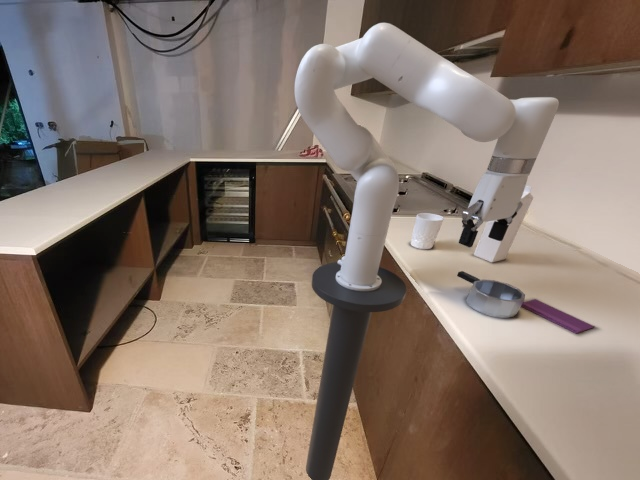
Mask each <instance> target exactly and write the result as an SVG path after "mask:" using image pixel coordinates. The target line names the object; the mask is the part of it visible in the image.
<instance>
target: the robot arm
mask: <svg viewBox="0 0 640 480" xmlns="http://www.w3.org/2000/svg"><path fill="white" fill-rule="evenodd" d="M370 79H374V80H376V81H377V82H379V83H381V84H382V85H384V86H386V88H389V90H391V91H393V92H394V93H396V94H397V95H399V96H400V97H402V98H403V99H405V100H406V101H408V102H409V103H411V104H412V105H415V106H416V107H418V108H420V109H423V110H426V111H428V112H430V113H432V114H434V115H435V116H437V117H439V118H441V119H442V120H444V121H445V122H447V123H449V124H450V125H452V126H453V127H455V128H456V129H458V130H459V131H460V132H461V134H463V135H464V136H466V137H467V138H470V140H471V139H472V140H473V141H476V142H479V143H488V142H493V141H496V143H495V146H494V149H493V152H492V154H491V157H490V159H489V163H488V165H487V168H486V172H484V173H483V174H482V176H481V178H480V179H479V182H478V184H477V185H476V187H475V190H474V192H473V194H472V197H471V199H470V201H469V203H468V206H467V208H466V209H464V210H463V211H462V212H461V223H462V230H461V234H460V237H459V240H458V244H460V245H462V246H464V247H467V248H473V246H474V243H475V241H476V238H477V236H478V234H479V230H478V229H479V228H480V226H482V224H483V223H487V221H493V220H497V221H498V222H497V221H494V223H493V226H492V228H491V231H490V233H489V236H488V237H489V238H492V239H495V240H498V241H502V240H503V238H504V236H505V233H506V231H507V229H508V226H509V225H507V224H511V223H512V219H513V218H514V217H515V216H516V215H517V212H518V211H519V209H520V208H521V207H522V205H523V203H522V202H520V200H521V197H522V194H523V192H524V189H525V186H527V182H528V179H529V176H530V175H531V173H532V170H533V168H534V165H535V163H536V161H537V159H538V156H539V154H540V151H541V149H542V146H543V145H544V142H545V140H546V137H547V135H548V133H549V130H550V128H551V126H552V123H553V121H554V119H555V116H556V114H557V111H558V109H559V105H560V102H559V99H558V98H556V97H552V96H537V97H536V96H535V97H533V96H532V97H521V98H518V99H510V98H509V97H507V96H505V95H503V94H502V93H501V92H500V91H498V90H496V89H494V88H493V87H492V86H490V85H489V84H487V83H485V82H484V81H482V80H480V79H479V78H477V77H476V76H474V75H472V74H471V73H468V72H467V71H466V70H463V69H462V68H460V67H459V66H457V65H456V64H455V63H453V62H452V61H449V60H448V59H447V58H445V57H443V56H441V55H440V54H438V53H436V52H435V51H434V50H432V49H431V48H429V47H428V46H426V45H425V44H423V43H422V42H420V41H418V40H417V39H415V38H414V37H412V36H411V35H409V34H407V33H406V32H405V31H403V30H402V29H400V28H399V27H397V26H396V25H393V24H392V23H390V22H379V23H377V24H374V25H373V26H371V27H370V28H369V29H368V30H367V31H366V32H365V33H364V34H363V36H362V37H361V38H358V39H355V40H352V41H350V42H347V43H344V44H341V45H338V46H333V45H331V44H329V43H319V44H317V45H314V46H312V47H310V48H309V49H308V50H307V51H306V53H305V54H304V55H303V57H302V58H301V60H300V63H299V65H298V67H297V71H296V75H295V79H294V98H295V99H294V100H295V104H296V107H297V110H298V112H299V115H300V117H301V118H302V120H303V121H304V123H305V124H306V126H307V127H308V128H309V130H310V131H311V132H312V134H313V136H314V137H315V138H316V139H317V141H318V142H319V143H320V145H321V146H322V147H323V149H324V150H325V152H326V153H327V154H328V156H329V157H330V159H331V160H332V161H333V163H334V164H335V166H336V167H337V168H339V169H340V170H342V171H345V172H348V173H349V174H350V176H352V178H353V179H354V181H356V186H355V190H354V199H353V204H352V210H351V217H350V223H349V230H348V235H347V239H346V246H345V253H344V256H342V257H341V259H338V260H337V261H336V262H337V263H338V264H339V265H341V270H340V271H338V272H337V273H336V281H337V282H338V283H339V284H340V285H341V286H343V287H345V288H347V289H351V290H355V291H373V290H376V289H378V288H379V287H380V286H381V282H382V280H381V278H380V277H379V276H378V275H377V273H378V269H379V267H380V265H381V261H382V256H383V252H384V248H385V245H386V241H387V235H388V233H389V232H388V231H389V228H390V224H391V220H392V215H393V212H394V209H395V205H396V203H397V202H396V201H397V198H398V194H399V190H400V177H399V171H398V169H397V166H396V165H395V164H394V162H393V161H392V160H391V157H389V155H388V154H387V153H386V151H385V150H384V148H383V147H382V146H381V145H380V143H379V142H378V140H377V139H376V138H375V136H374V135H373V134H372V133H371V132H370V130H369V129H368V128H366V127H365V126H362V125H359V124H358V123H357V122H356V120H355V119H354V118H353V117H352V115H350V113H349V111H348V110H347V108H346V107H345V105H344V104H343V103H342V102H341V100H340V99H339V98H338V96H337V94H336V92H335V90H338V89H342V88H345V87H349V86H352V85H355V84H359V83H361V82H364V81H368V80H370ZM474 221H476V222H474Z"/></svg>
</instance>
